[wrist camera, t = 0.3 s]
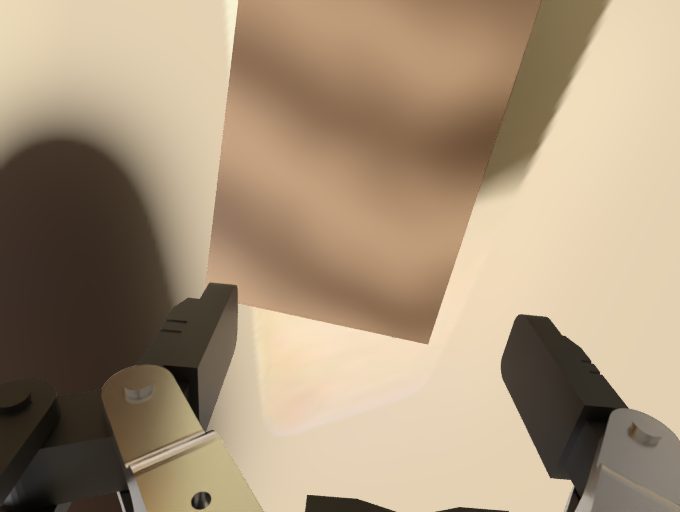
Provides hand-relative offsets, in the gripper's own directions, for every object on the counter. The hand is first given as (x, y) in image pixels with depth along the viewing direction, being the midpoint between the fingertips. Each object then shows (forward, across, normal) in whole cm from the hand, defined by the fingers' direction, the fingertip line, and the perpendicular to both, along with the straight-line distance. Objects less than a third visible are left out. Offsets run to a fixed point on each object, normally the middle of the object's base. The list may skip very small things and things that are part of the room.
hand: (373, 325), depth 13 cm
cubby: (+28, -1, -3) cm, 28 cm away
